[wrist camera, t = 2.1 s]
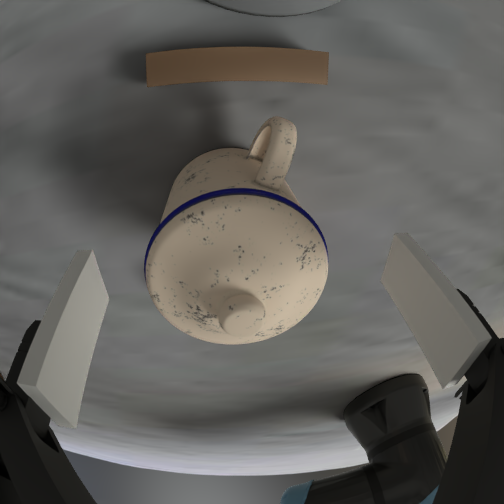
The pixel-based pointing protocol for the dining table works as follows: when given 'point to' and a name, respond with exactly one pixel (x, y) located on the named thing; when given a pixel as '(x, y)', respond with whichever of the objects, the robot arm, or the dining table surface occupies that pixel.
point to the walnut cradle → (236, 65)
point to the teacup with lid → (237, 244)
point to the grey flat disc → (274, 6)
